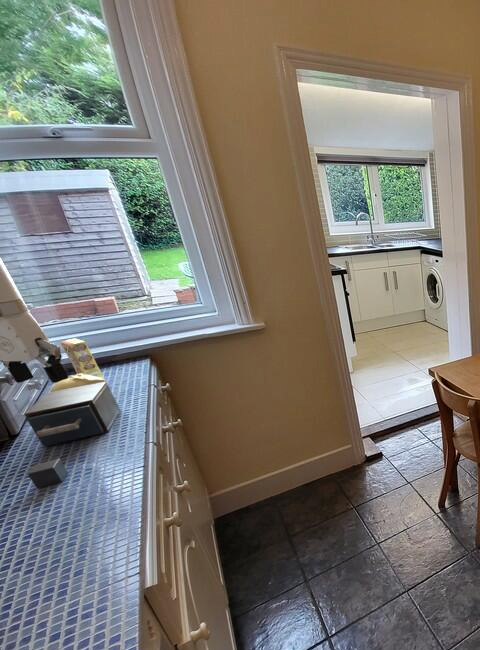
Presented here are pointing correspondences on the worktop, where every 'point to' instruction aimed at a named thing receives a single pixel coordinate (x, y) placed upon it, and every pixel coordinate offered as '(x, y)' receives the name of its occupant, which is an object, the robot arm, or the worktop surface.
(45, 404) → the cabinet
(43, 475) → the block
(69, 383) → the sculpture
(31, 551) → the worktop surface
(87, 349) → the candy box
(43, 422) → the drawer
